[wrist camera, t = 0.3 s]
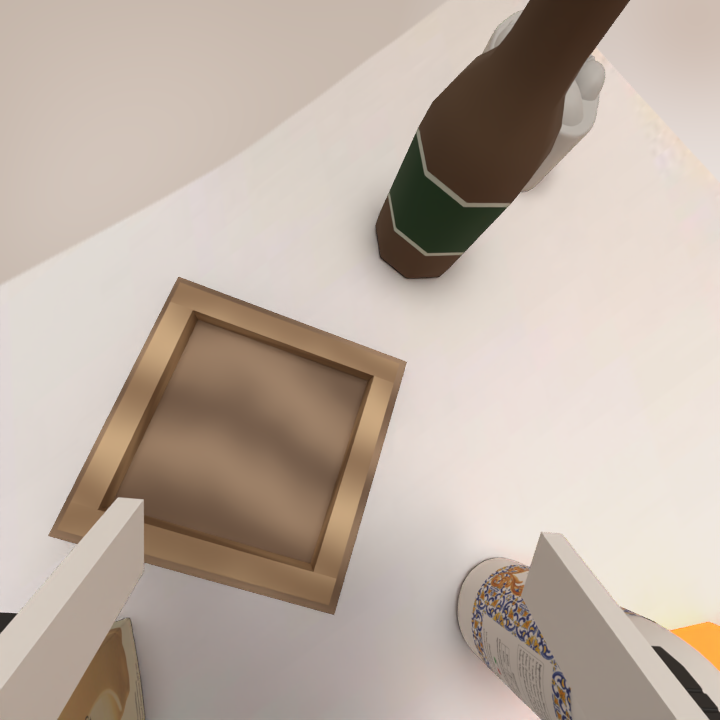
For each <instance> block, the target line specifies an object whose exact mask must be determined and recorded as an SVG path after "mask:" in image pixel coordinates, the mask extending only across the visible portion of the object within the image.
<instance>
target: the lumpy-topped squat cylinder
mask: <svg viewBox="0 0 720 720" xmlns="http://www.w3.org/2000/svg"><path fill="white" fill-rule="evenodd" d="M522 12H523V10H521V11H518V12H516V13H514V14H513V15H511V16H510V17H508V18H507V19H506V20H504V21H503V22H502V23H501V24H500V25H499V26H498V27H497V28H496V30H495V31H494V33H493V34H492V36H491V38H490V40H489V42H488V44H487V46H486V48H485V49H484V51H483V53H485V52H487V51H489V50H491V49H493V48H495V47H497V46H499V45H500V43H501V42H502V41H503V39H504V38H505V37H506V36H507V34H508V33H509V32H510V30H511V29H512V27H513V26H514V24H515V23H516V21H517V20H518V18H519V16H520V15H521V13H522ZM483 53H482V54H483ZM604 80H605V69H604V67H603V65H602V64H601V63H599V62H598V61H595V57H594V56H592V55H590V56H589V57H588V59H587V60H586V62H585V63H584V64H583V66H582V68H581V70H580V71H579V73H578V75H577V76H576V78H575V80H574V81H573V83H572V85H571V86H570V88H569V90H568V91H567V93H566V95H565V103H564V111H563V119H562V127H561V129H560V132H559V134H558V136H557V139H556V141H555V144H554V146H553V148H552V151H551V152H550V154H549V155H548V156H547V158H546V159H545V160H544V162H543V163H542V164H541V166H540V167H539V168H538V170H537V171H536V173H535V174H534V175H533V177H532V178H531V179H530V181H529V182H528V183H527V184H526V186H525V187H524V188H523V189H522V191H521V192H526V191H529V190H531V189H532V188H534V187H535V186H536V185H537V184H538V183H539V182H540V181H541V180H542V179H543V178H544V177H545V176H546V175H547V174H548V173H549V172H550V171H551V170H552V169H553V168H554V167H555V166H556V165H557V164H558V163H559V162H560V161H561V160H562V159H563V158H564V157H565V156H566V155H567V154H568V153H569V152H570V151H571V150H572V148H573V147H574V146H575V145H576V144H577V143H578V142H579V141H580V140H581V139H582V138H583V137H584V136H585V135H586V134H587V133H588V132H589V131H590V130H591V128H592V126H593V125H594V122H595V119H596V115H597V108H598V103H599V93H600V91H601V89H602V87H603V84H604Z"/></svg>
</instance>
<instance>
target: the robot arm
mask: <svg viewBox="0 0 720 720" xmlns="http://www.w3.org/2000/svg"><path fill="white" fill-rule="evenodd" d="M143 572H144V499H132V498H120V497H118V498H117V499H116V500H115V501H114V502H113V504H112V505H111V506H110V507H109V508H108V509H107V511H106V512H105V513H104V514H103V515H102V516H101V518H100V519H99V520H98V521H97V522H96V523H95V525H94V526H93V527H92V528H91V529H90V530H89V531H88V533H87V534H86V535H85V536H84V537H83V538H82V540H81V541H80V542H79V543H78V544H77V545H76V547H75V548H74V549H73V550H72V551H71V552H70V554H69V555H68V556H67V557H66V558H65V559H64V560H63V562H62V563H61V564H60V565H59V566H58V567H57V569H56V570H55V571H54V572H53V573H52V574H51V576H50V577H49V578H48V579H47V580H46V581H45V583H44V584H43V585H42V586H41V587H40V588H39V589H38V591H37V592H36V593H35V594H34V595H33V596H32V598H31V599H30V600H29V601H28V602H27V603H26V605H25V606H24V607H23V608H22V609H21V610H20V612H19V613H0V720H57V719H58V717H59V716H60V714H61V712H62V710H63V709H64V707H65V705H66V704H67V702H68V700H69V698H70V697H71V695H72V693H73V692H74V690H75V688H76V687H77V685H78V683H79V681H80V680H81V678H82V676H83V675H84V673H85V671H86V669H87V668H88V666H89V664H90V663H91V661H92V659H93V658H94V656H95V654H96V652H97V651H98V649H99V647H100V646H101V644H102V642H103V640H104V639H105V637H106V635H107V634H108V632H109V630H110V628H111V627H112V625H113V623H114V622H115V620H116V618H117V617H118V615H119V613H120V611H121V610H122V608H123V606H124V605H125V603H126V601H127V599H128V598H129V596H130V594H131V593H132V591H133V589H134V587H135V586H136V584H137V582H138V581H139V579H140V577H141V576H142V574H143ZM521 597H522V599H523V600H524V602H525V604H526V606H527V608H528V610H529V612H530V614H531V615H532V617H533V619H534V621H535V623H536V625H537V627H538V628H539V630H540V632H541V634H542V636H543V638H544V640H545V642H546V643H547V645H548V647H549V649H550V651H551V653H552V655H553V657H554V658H555V660H556V662H557V664H558V666H559V668H560V670H561V672H562V673H563V675H564V677H565V679H566V681H567V683H568V685H569V686H570V688H571V690H572V692H573V694H574V696H575V698H576V700H577V701H578V703H579V705H580V707H581V709H582V711H583V713H584V715H585V716H586V718H587V720H720V712H719V710H718V707H717V706H716V705H715V703H714V702H713V701H712V700H711V699H710V697H709V696H708V695H707V694H706V693H703V691H702V688H701V687H700V685H699V684H698V683H697V682H696V681H695V679H694V678H693V677H692V676H691V675H690V673H689V672H688V671H687V670H686V669H685V667H684V666H683V665H682V664H680V663H679V662H678V661H677V660H676V659H675V658H673V657H672V656H671V655H670V654H669V653H668V652H666V651H665V650H664V649H663V648H662V647H661V646H651V645H650V644H649V643H648V642H647V640H646V639H645V638H644V637H643V635H642V634H641V633H640V632H639V630H638V629H637V628H636V627H635V625H634V624H633V623H632V622H631V620H630V619H629V618H628V616H627V615H626V614H625V613H624V611H623V610H622V609H621V608H620V606H619V605H618V604H617V603H616V601H615V600H614V599H613V598H612V596H611V595H610V594H609V592H608V591H607V590H606V589H605V587H604V586H603V585H602V584H601V582H600V581H599V580H598V579H597V577H596V576H595V575H594V574H593V572H592V571H591V570H590V569H589V567H588V566H587V565H586V563H585V562H584V561H583V560H582V558H581V557H580V556H579V555H578V553H577V552H576V551H575V550H574V548H573V547H572V546H571V545H570V543H569V542H568V541H567V539H566V538H565V537H564V536H563V534H558V533H546V532H541V534H540V537H539V541H538V544H537V547H536V550H535V553H534V556H533V560H532V563H531V566H530V569H529V572H528V575H527V578H526V582H525V585H524V588H523V591H522V594H521Z"/></svg>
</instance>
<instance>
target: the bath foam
mask: <svg viewBox="0 0 720 720" xmlns="http://www.w3.org/2000/svg"><path fill="white" fill-rule="evenodd" d="M529 569H530V567H528V566H526V565H523V564H521V563H519V562H516V561H514V560H511V559H506V558H493V559H489V560H486V561H484V562H482V563H480V564H479V565H478V566H476V567H475V568H474V569H473V570H472V571H471V572H470V573H469V575H468V576H467V577H466V579H465V581H464V583H463V585H462V587H461V590H460V594H459V601H458V621H459V625H460V629H461V632H462V635H463V637H464V639H465V641H466V643H467V644H468V646H469V647H470V648H471V650H472V651H473V652H474V653H475V654H476V655H477V656H478V657H479V658H480V659H481V660H482V661H483V662H484V663H485V664H486V665H487V666H488V667H489V668H490V669H491V670H492V671H493V672H494V673H495V674H496V675H497V676H498V677H499V678H500V679H501V680H502V681H503V682H504V683H505V684H506V685H507V686H508V687H509V688H510V689H511V690H512V691H513V692H514V693H515V694H516V695H517V696H518V697H519V698H520V699H521V700H522V701H523V702H524V703H525V704H526V705H527V706H528V707H529V708H530V709H531V710H532V711H533V712H534V713H535V714H536V715H537V716H538V717H539V718H540V719H541V720H587V718H586V716H585V715H584V713H583V711H582V709H581V707H580V705H579V703H578V701H577V700H576V698H575V696H574V694H573V692H572V690H571V688H570V686H569V685H568V683H567V681H566V679H565V677H564V675H563V673H562V672H561V670H560V668H559V666H558V664H557V662H556V660H555V658H554V657H553V655H552V653H551V651H550V649H549V647H548V645H547V643H546V642H545V640H544V638H543V636H542V634H541V632H540V630H539V628H538V627H537V625H536V623H535V621H534V619H533V617H532V615H531V614H530V612H529V610H528V608H527V606H526V604H525V602H524V600H523V599H522V597H521V594H522V591H523V588H524V585H525V582H526V578H527V575H528V572H529ZM620 608H621V609H622V610H623V611H624V613H625V614H626V615H627V616H628V618H629V619H630V620H631V622H632V623H633V624H634V625H635V627H636V628H637V629H638V630H639V632H640V633H641V634H642V635H643V637H644V638H645V639H646V640H647V642H648V643H649V644H650V645H651V646H661V647H662V648H663V649H664V650H665V651H666V652H668V653H669V654H670V655H671V656H672V657H673V658H675V659H676V660H677V661H678V662H679V663H680V664H682V665H683V666H684V667H685V669H686V670H687V671H688V672H689V673H690V675H691V676H692V677H693V678H694V679H695V681H696V682H697V683H698V684H699V685H700V687H701V688H702V691H703V693H706V694H707V695H708V696H709V697H710V699H711V700H712V701H713V702H714V703H715V705H716V706H717V707H718V710H719V712H720V671H719V670H718V669H717V668H716V667H715V666H714V665H713V664H712V663H711V662H710V661H709V660H708V659H706V658H705V657H704V656H703V655H702V654H701V653H700V652H698V651H697V650H696V649H695V648H693V647H692V646H691V645H690V644H688V643H687V642H686V641H684V640H683V639H681V638H680V637H678V636H677V635H675V634H674V633H672V632H671V631H669V630H667V629H666V628H664V627H662V626H660V625H659V624H657V623H655V622H654V621H652V620H650V619H647V618H645V617H643V616H640V615H638V614H636V613H634V612H631V611H629V610H627V609H625V608H622V607H620Z"/></svg>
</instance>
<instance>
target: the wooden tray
mask: <svg viewBox="0 0 720 720" xmlns="http://www.w3.org/2000/svg"><path fill="white" fill-rule="evenodd" d="M406 363H407V362H405V361H403V360H400V359H397V358H395V357H392V356H389V355H387V354H384V353H381V352H379V351H376V350H373V349H371V348H368V347H365V346H363V345H360V344H357V343H355V342H352V341H349V340H347V339H344V338H341V337H339V336H336V335H333V334H330V333H328V332H325V331H322V330H320V329H317V328H314V327H312V326H309V325H306V324H304V323H301V322H298V321H296V320H293V319H290V318H288V317H285V316H282V315H280V314H277V313H274V312H272V311H269V310H266V309H264V308H261V307H258V306H256V305H253V304H250V303H247V302H245V301H242V300H239V299H237V298H234V297H231V296H229V295H226V294H223V293H221V292H218V291H215V290H213V289H210V288H207V287H205V286H202V285H199V284H197V283H194V282H191V281H189V280H186V279H183V278H181V277H178V278H177V280H176V282H175V284H174V286H173V288H172V290H171V292H170V294H169V296H168V298H167V300H166V302H165V304H164V306H163V308H162V310H161V312H160V314H159V316H158V318H157V320H156V322H155V324H154V326H153V328H152V330H151V332H150V334H149V336H148V338H147V340H146V342H145V344H144V346H143V348H142V350H141V352H140V354H139V356H138V358H137V360H136V362H135V364H134V366H133V368H132V370H131V372H130V374H129V376H128V378H127V380H126V382H125V384H124V386H123V388H122V390H121V392H120V394H119V396H118V398H117V400H116V402H115V404H114V406H113V408H112V410H111V412H110V414H109V416H108V418H107V420H106V422H105V424H104V426H103V428H102V430H101V432H100V434H99V436H98V438H97V440H96V442H95V444H94V446H93V448H92V450H91V452H90V454H89V456H88V458H87V460H86V462H85V464H84V466H83V468H82V470H81V472H80V474H79V476H78V478H77V480H76V482H75V484H74V486H73V488H72V490H71V492H70V494H69V496H68V498H67V500H66V502H65V503H64V505H63V507H62V509H61V511H60V513H59V515H58V517H57V519H56V521H55V523H54V525H53V527H52V529H51V531H50V533H49V535H48V536H51V537H54V538H58V539H61V540H65V541H69V542H72V543H76V544H78V543H79V542H80V541H81V540H82V538H83V537H84V536H85V535H86V534H87V533H88V531H89V530H90V529H91V528H92V527H93V526H94V525H95V523H96V522H97V521H98V520H99V519H100V518H101V516H102V515H103V514H104V513H105V512H106V511H107V509H108V508H109V507H110V506H111V505H112V504H113V502H114V501H115V500H116V499H117V498H118V497H120V498H132V499H144V562H145V563H148V564H152V565H155V566H159V567H163V568H166V569H170V570H174V571H177V572H181V573H184V574H188V575H192V576H195V577H199V578H203V579H206V580H210V581H213V582H217V583H221V584H224V585H228V586H231V587H235V588H239V589H242V590H246V591H250V592H253V593H257V594H260V595H264V596H268V597H271V598H275V599H279V600H282V601H286V602H289V603H293V604H297V605H300V606H304V607H307V608H311V609H315V610H318V611H322V612H326V613H329V614H333V615H334V613H335V610H336V606H337V603H338V599H339V596H340V592H341V589H342V586H343V582H344V579H345V575H346V572H347V568H348V565H349V561H350V558H351V554H352V551H353V547H354V544H355V540H356V537H357V533H358V530H359V526H360V523H361V519H362V516H363V513H364V509H365V506H366V502H367V499H368V495H369V492H370V488H371V485H372V481H373V478H374V474H375V471H376V467H377V464H378V460H379V457H380V453H381V450H382V446H383V443H384V439H385V436H386V433H387V429H388V426H389V422H390V419H391V415H392V412H393V408H394V405H395V401H396V398H397V394H398V391H399V387H400V384H401V380H402V377H403V373H404V370H405V366H406Z"/></svg>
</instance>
